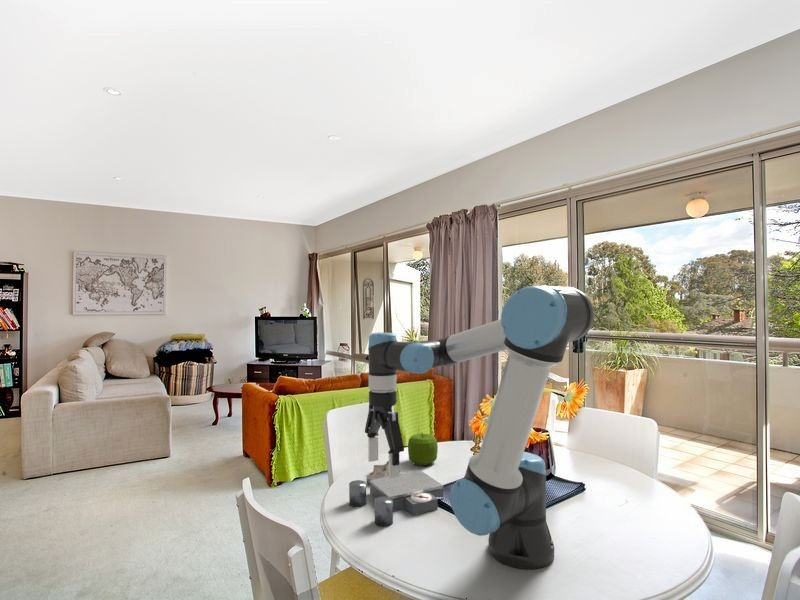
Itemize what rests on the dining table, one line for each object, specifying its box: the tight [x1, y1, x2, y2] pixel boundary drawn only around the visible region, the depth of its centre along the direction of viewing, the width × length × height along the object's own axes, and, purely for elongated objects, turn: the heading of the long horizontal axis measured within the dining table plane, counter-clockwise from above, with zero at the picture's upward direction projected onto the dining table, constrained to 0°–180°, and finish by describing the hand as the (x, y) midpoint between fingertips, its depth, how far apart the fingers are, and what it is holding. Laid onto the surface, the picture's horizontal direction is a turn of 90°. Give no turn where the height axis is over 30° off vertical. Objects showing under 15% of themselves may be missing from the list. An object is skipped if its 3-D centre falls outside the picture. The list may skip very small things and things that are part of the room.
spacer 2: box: [373, 496, 394, 528], centre depth 123 cm, size 5×5×6 cm
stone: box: [366, 460, 389, 485], centre depth 154 cm, size 15×10×4 cm, turn 170°
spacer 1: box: [348, 479, 367, 508], centre depth 135 cm, size 5×5×6 cm
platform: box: [369, 470, 444, 499], centre depth 140 cm, size 14×18×1 cm
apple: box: [407, 432, 439, 466], centre depth 169 cm, size 11×11×11 cm
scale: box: [369, 483, 444, 516], centre depth 137 cm, size 20×18×4 cm
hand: (383, 468), depth 123 cm, fingers open, 13 cm apart
